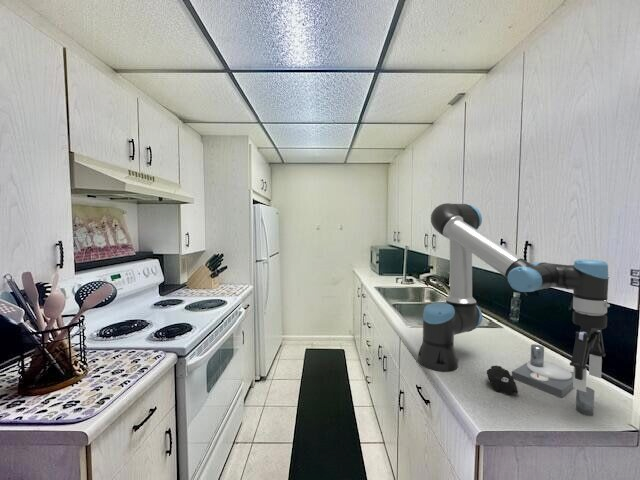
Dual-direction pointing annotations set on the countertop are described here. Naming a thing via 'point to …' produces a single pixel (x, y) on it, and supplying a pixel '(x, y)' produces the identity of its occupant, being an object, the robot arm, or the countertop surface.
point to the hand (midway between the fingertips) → (587, 382)
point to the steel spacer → (585, 401)
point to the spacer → (537, 355)
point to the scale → (546, 378)
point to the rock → (501, 380)
